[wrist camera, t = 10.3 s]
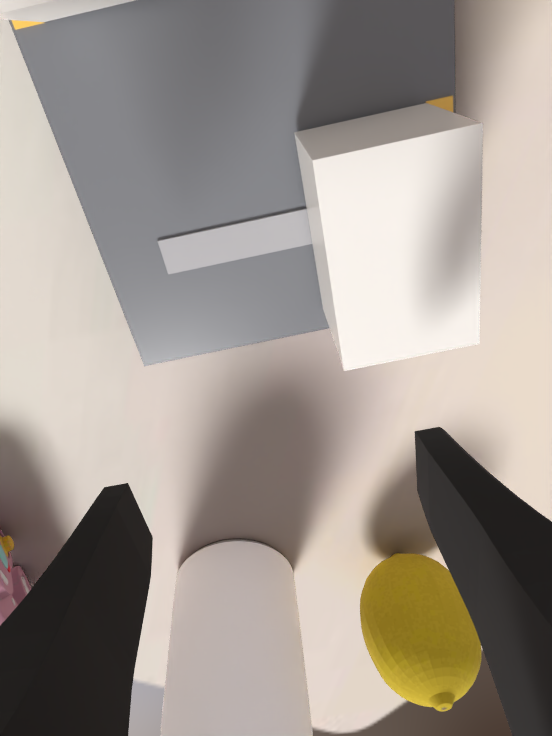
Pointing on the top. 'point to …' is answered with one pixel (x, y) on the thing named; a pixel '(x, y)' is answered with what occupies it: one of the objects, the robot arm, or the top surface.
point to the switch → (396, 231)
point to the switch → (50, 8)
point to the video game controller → (10, 580)
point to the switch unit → (220, 145)
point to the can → (235, 646)
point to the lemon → (419, 631)
